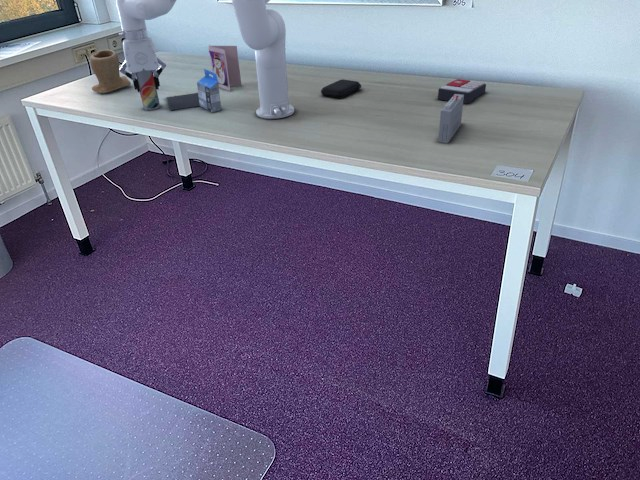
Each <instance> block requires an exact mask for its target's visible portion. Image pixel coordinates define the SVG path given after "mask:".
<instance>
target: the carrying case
mask: <svg viewBox="0 0 640 480" xmlns="http://www.w3.org/2000/svg"><path fill="white" fill-rule="evenodd" d="M361 89H362V84H361V83H360V82H359V81H357V80H349V79H344V78H343V79H339V80H337V81H334V82H332V83H330V84H328V85H325V86H323V87H322V88H321V89H320V93H321V95H322V96H324V97H329V98H334V99H342V98H344V97H347V96H348V95H349V96H350V94H353V93H355V92H357V91H359V90H361Z"/></svg>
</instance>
